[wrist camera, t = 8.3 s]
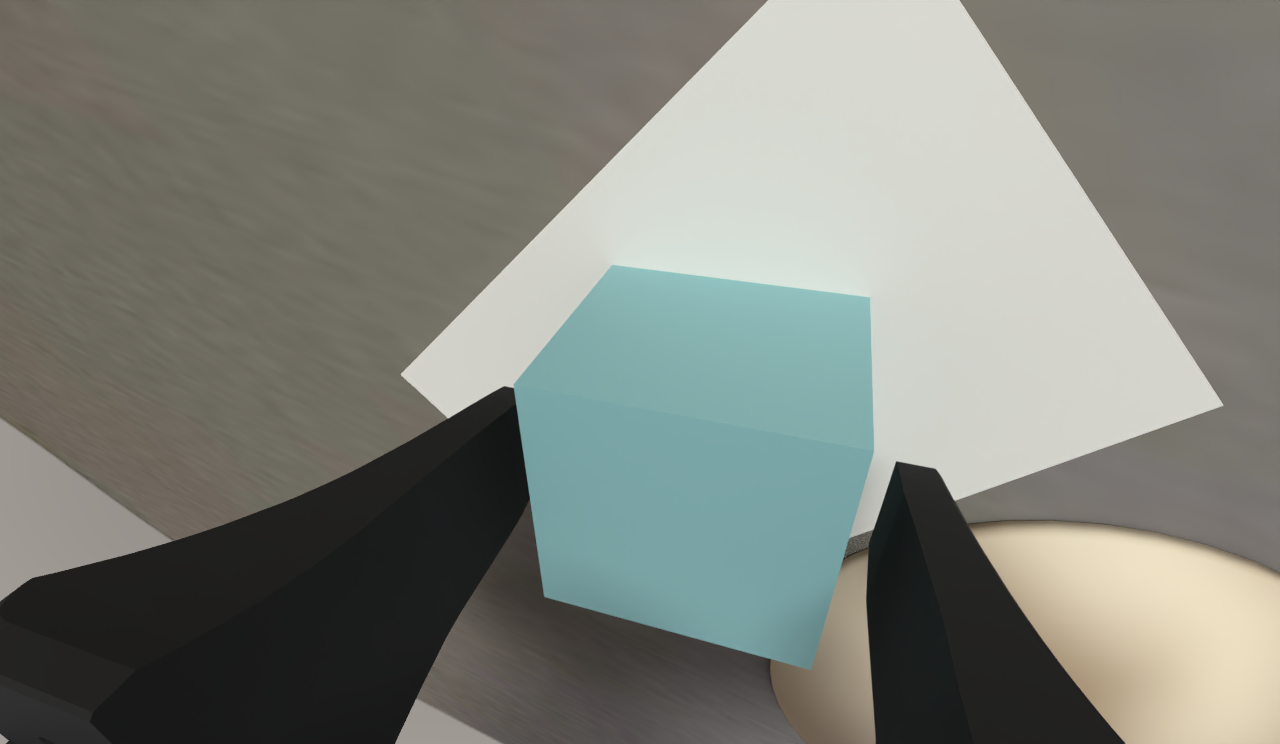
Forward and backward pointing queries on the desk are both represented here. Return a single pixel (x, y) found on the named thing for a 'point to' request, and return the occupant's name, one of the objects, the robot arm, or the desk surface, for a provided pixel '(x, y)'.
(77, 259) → the desk surface
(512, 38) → the desk surface
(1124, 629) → the post base
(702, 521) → the teal block
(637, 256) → the mat
